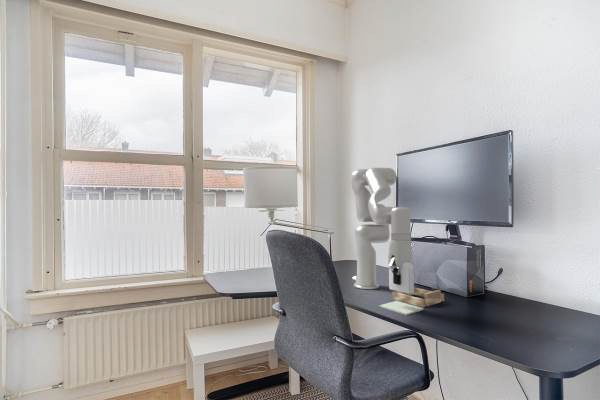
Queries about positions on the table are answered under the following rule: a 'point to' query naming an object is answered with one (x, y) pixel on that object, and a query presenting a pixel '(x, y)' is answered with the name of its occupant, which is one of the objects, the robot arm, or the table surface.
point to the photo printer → (403, 279)
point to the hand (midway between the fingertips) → (401, 282)
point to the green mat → (401, 307)
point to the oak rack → (430, 298)
